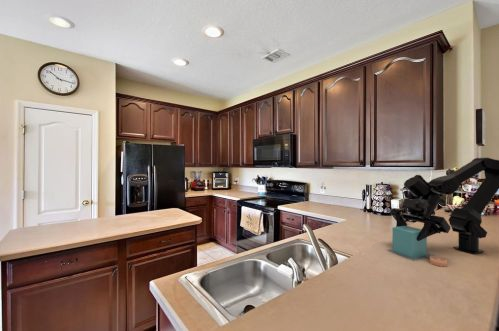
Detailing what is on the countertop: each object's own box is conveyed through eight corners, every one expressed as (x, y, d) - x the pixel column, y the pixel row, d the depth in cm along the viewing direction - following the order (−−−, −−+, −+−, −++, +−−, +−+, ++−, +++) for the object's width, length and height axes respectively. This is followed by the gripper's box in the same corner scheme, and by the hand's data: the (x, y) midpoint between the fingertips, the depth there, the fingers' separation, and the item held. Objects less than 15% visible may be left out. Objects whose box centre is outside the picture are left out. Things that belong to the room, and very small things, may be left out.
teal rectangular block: (406, 248, 88) (406, 225, 88) (426, 255, 81) (426, 230, 81) (392, 251, 85) (392, 227, 85) (412, 258, 78) (412, 232, 78)
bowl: (435, 261, 77) (435, 254, 77) (450, 267, 73) (450, 259, 73) (426, 263, 76) (426, 256, 76) (441, 269, 71) (441, 261, 71)
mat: (408, 247, 90) (408, 246, 90) (436, 256, 81) (436, 255, 81) (386, 251, 86) (386, 250, 86) (413, 261, 77) (413, 260, 77)
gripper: (392, 188, 93) (372, 217, 89) (445, 193, 76) (423, 229, 72) (406, 206, 96) (387, 234, 92) (459, 215, 79) (439, 251, 75)
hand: (406, 236), depth 83 cm, fingers closed on teal rectangular block, 7 cm apart
